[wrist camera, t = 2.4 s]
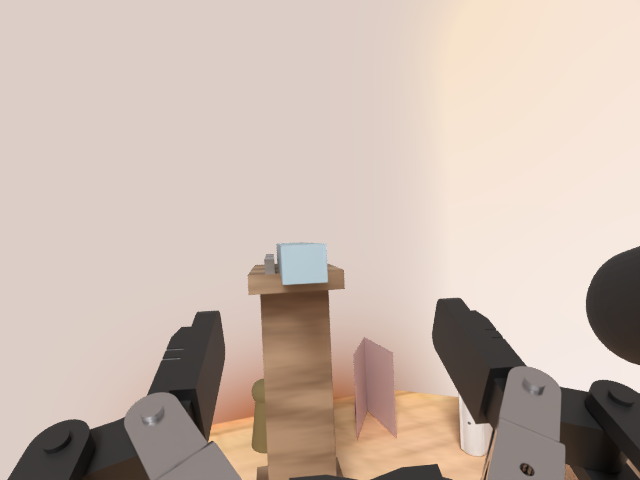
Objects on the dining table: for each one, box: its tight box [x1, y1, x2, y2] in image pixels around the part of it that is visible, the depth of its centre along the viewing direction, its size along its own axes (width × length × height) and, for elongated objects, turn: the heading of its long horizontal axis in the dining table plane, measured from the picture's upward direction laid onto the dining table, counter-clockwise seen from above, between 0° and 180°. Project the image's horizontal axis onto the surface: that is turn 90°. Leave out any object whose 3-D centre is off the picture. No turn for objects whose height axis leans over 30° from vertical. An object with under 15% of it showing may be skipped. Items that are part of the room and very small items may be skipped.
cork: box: [252, 379, 267, 453], centre depth 64 cm, size 6×6×11 cm
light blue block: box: [277, 243, 328, 285], centre depth 40 cm, size 24×4×3 cm, turn 8°
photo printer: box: [459, 394, 493, 457], centre depth 62 cm, size 10×4×12 cm, turn 148°
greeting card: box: [354, 337, 396, 440], centre depth 69 cm, size 11×7×15 cm, turn 164°
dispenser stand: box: [248, 254, 345, 480], centre depth 46 cm, size 18×12×34 cm, turn 8°
